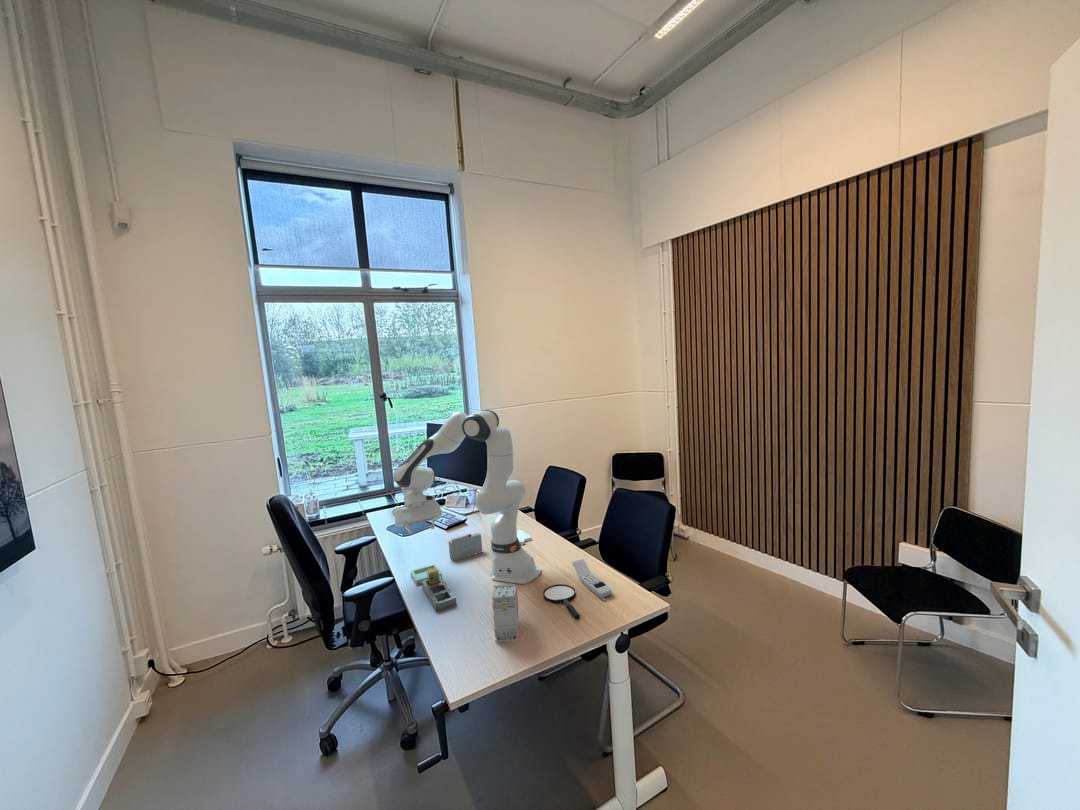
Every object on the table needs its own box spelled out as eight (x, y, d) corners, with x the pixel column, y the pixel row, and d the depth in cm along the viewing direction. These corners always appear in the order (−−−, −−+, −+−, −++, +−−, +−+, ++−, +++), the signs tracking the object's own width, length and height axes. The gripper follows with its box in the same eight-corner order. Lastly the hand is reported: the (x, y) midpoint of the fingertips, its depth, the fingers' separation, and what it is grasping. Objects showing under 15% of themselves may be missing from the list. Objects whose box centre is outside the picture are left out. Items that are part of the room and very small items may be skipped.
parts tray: (442, 577, 187) (441, 573, 187) (416, 585, 182) (416, 580, 182) (435, 568, 197) (435, 563, 197) (411, 574, 192) (410, 570, 192)
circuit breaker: (518, 615, 155) (516, 575, 154) (518, 639, 141) (515, 596, 140) (498, 616, 155) (495, 576, 154) (495, 641, 141) (491, 598, 139)
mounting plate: (497, 537, 229) (496, 533, 229) (519, 531, 235) (518, 528, 235) (510, 548, 213) (510, 545, 213) (534, 542, 219) (533, 538, 219)
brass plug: (440, 589, 177) (438, 570, 177) (430, 592, 175) (428, 573, 175) (437, 585, 181) (435, 567, 180) (428, 588, 179) (426, 569, 178)
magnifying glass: (561, 624, 148) (560, 618, 148) (539, 592, 171) (538, 587, 171) (593, 616, 152) (593, 610, 152) (568, 585, 175) (568, 580, 174)
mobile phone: (582, 558, 184) (615, 583, 161) (584, 571, 185) (616, 598, 162) (570, 561, 182) (601, 587, 159) (571, 575, 183) (602, 603, 160)
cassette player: (480, 550, 214) (478, 530, 213) (482, 551, 211) (480, 532, 210) (450, 559, 205) (448, 539, 205) (452, 561, 203) (450, 540, 202)
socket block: (456, 605, 164) (456, 597, 164) (435, 612, 160) (435, 604, 160) (440, 581, 183) (440, 575, 183) (422, 587, 180) (421, 580, 179)
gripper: (391, 504, 188) (397, 533, 180) (438, 495, 197) (445, 522, 190) (391, 511, 192) (396, 539, 185) (436, 502, 202) (443, 529, 194)
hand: (422, 530), depth 187 cm, fingers open, 8 cm apart
